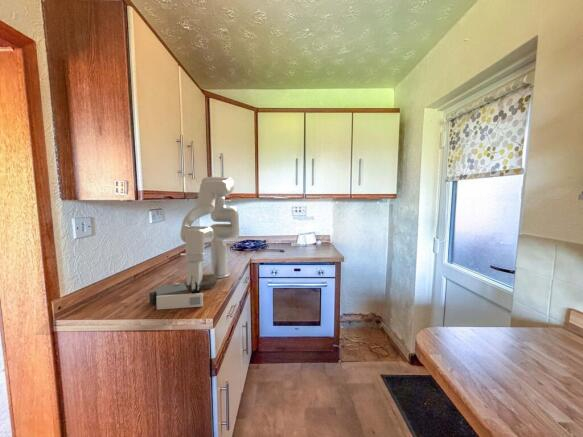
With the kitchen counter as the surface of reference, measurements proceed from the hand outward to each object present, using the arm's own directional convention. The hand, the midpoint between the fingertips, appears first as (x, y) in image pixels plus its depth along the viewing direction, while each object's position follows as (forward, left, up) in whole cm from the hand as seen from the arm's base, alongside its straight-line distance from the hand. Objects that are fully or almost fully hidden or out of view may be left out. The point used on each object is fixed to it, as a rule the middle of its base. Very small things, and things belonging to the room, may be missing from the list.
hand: (196, 298), depth 105 cm
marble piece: (-24, +7, -3) cm, 25 cm away
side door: (0, -7, -2) cm, 7 cm away
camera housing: (-10, -10, -3) cm, 14 cm away
